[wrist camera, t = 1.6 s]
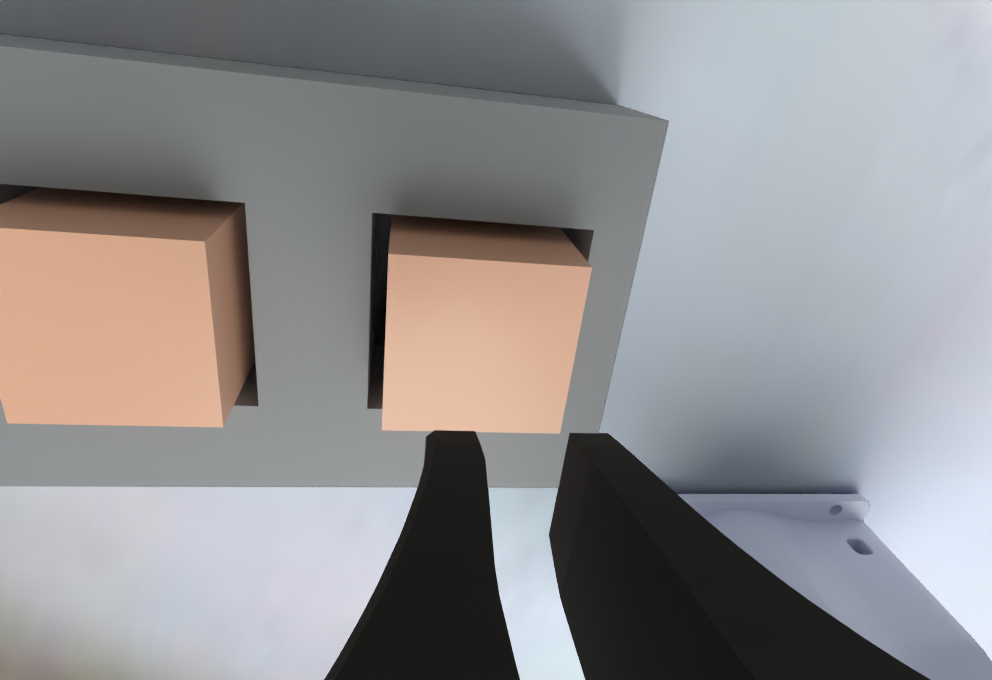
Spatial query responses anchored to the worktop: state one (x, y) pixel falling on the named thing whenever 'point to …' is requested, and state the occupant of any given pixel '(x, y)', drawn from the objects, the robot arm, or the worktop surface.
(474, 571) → the robot arm
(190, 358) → the button
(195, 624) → the worktop surface
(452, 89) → the switch block
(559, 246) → the button
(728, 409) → the worktop surface
